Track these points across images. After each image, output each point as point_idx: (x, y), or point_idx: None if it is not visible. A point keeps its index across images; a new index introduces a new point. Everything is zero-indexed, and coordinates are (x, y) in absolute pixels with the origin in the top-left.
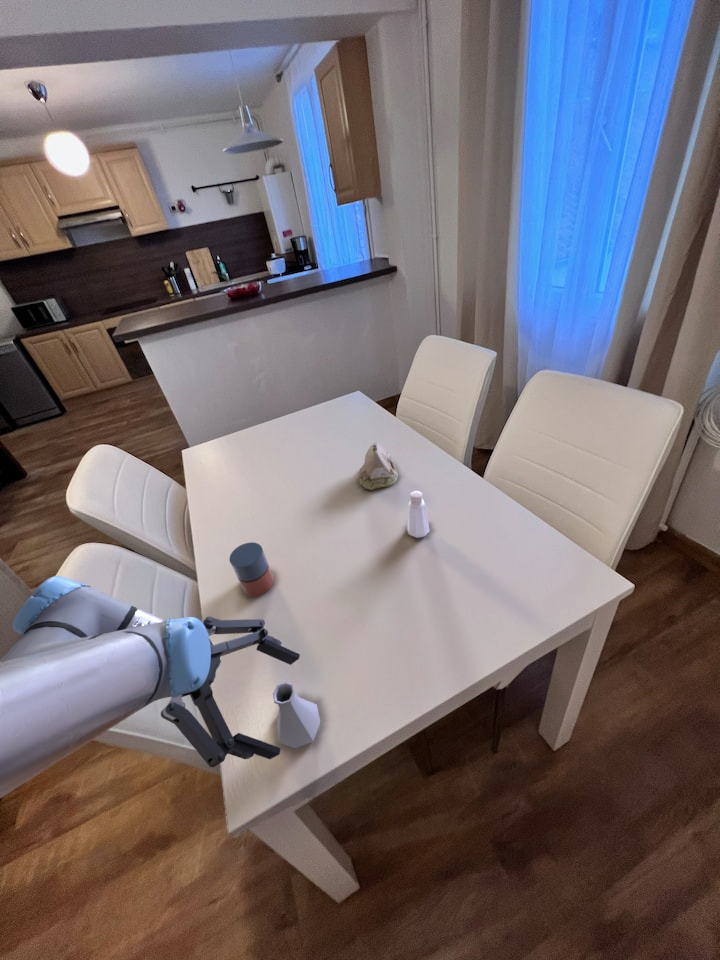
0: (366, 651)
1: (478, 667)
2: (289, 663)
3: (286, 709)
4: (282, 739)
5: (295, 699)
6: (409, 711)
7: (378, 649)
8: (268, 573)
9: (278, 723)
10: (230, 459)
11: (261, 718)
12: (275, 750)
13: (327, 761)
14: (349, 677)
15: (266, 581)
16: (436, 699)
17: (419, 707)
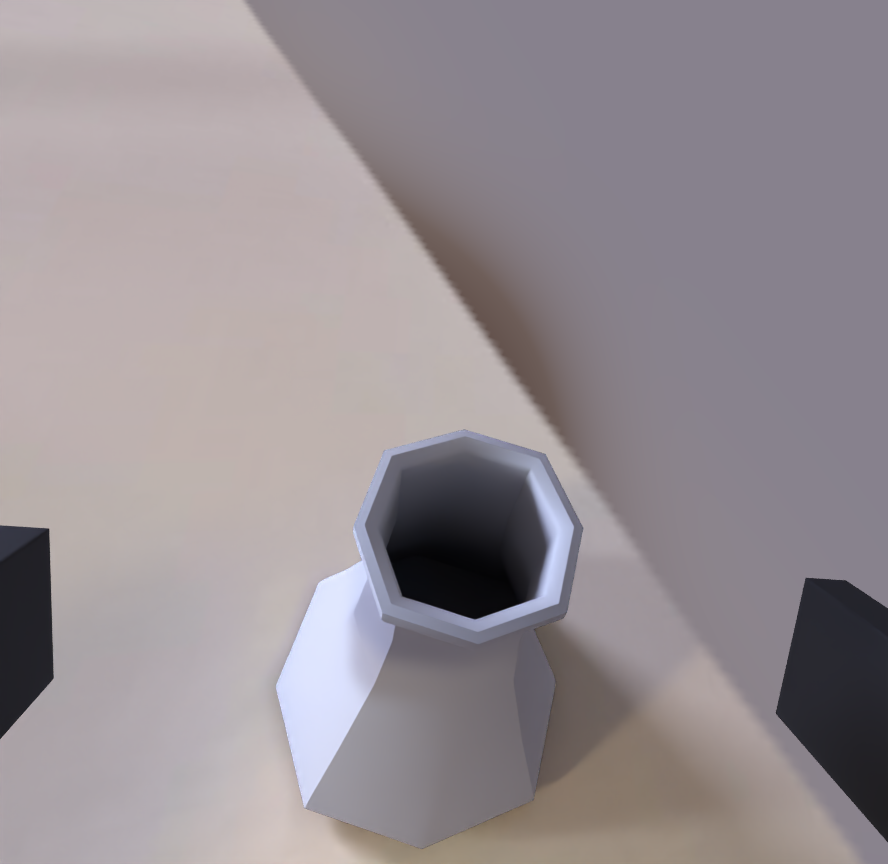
0: (56, 345)
1: (253, 45)
2: (40, 677)
3: (528, 577)
4: (537, 757)
5: (451, 505)
6: (384, 223)
7: (66, 296)
8: None
9: (468, 788)
10: None
11: None
12: (855, 599)
13: (588, 512)
14: (187, 424)
15: None
16: (347, 151)
17: (371, 195)
